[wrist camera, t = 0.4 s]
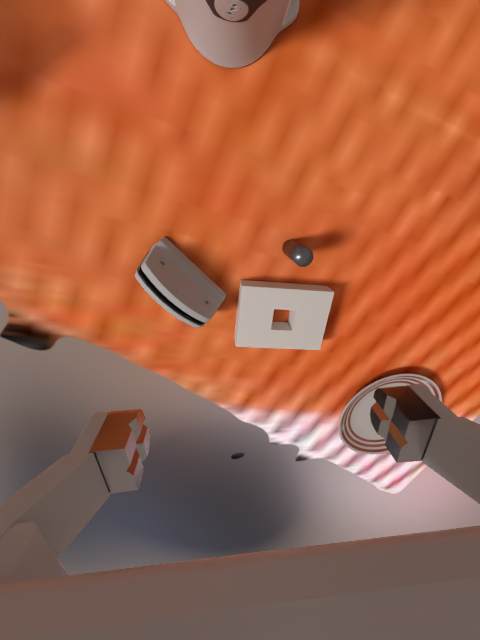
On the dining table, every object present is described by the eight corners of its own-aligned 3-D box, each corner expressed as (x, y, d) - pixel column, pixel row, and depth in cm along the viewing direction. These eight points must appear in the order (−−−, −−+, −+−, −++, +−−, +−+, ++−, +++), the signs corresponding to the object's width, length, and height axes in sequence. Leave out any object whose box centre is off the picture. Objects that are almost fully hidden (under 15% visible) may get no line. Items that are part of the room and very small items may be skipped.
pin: (283, 238, 51) (296, 247, 42) (299, 240, 51) (314, 248, 43) (281, 254, 52) (293, 266, 44) (296, 256, 52) (311, 267, 44)
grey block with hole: (240, 279, 53) (241, 285, 50) (326, 285, 55) (334, 292, 52) (234, 337, 59) (235, 346, 55) (313, 340, 61) (319, 349, 57)
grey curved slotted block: (228, 295, 55) (216, 327, 47) (212, 307, 57) (199, 338, 49) (163, 234, 49) (137, 259, 41) (149, 250, 51) (122, 276, 43)
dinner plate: (451, 368, 68) (462, 376, 65) (412, 445, 79) (419, 455, 76) (349, 364, 65) (355, 372, 62) (323, 445, 76) (327, 455, 73)
